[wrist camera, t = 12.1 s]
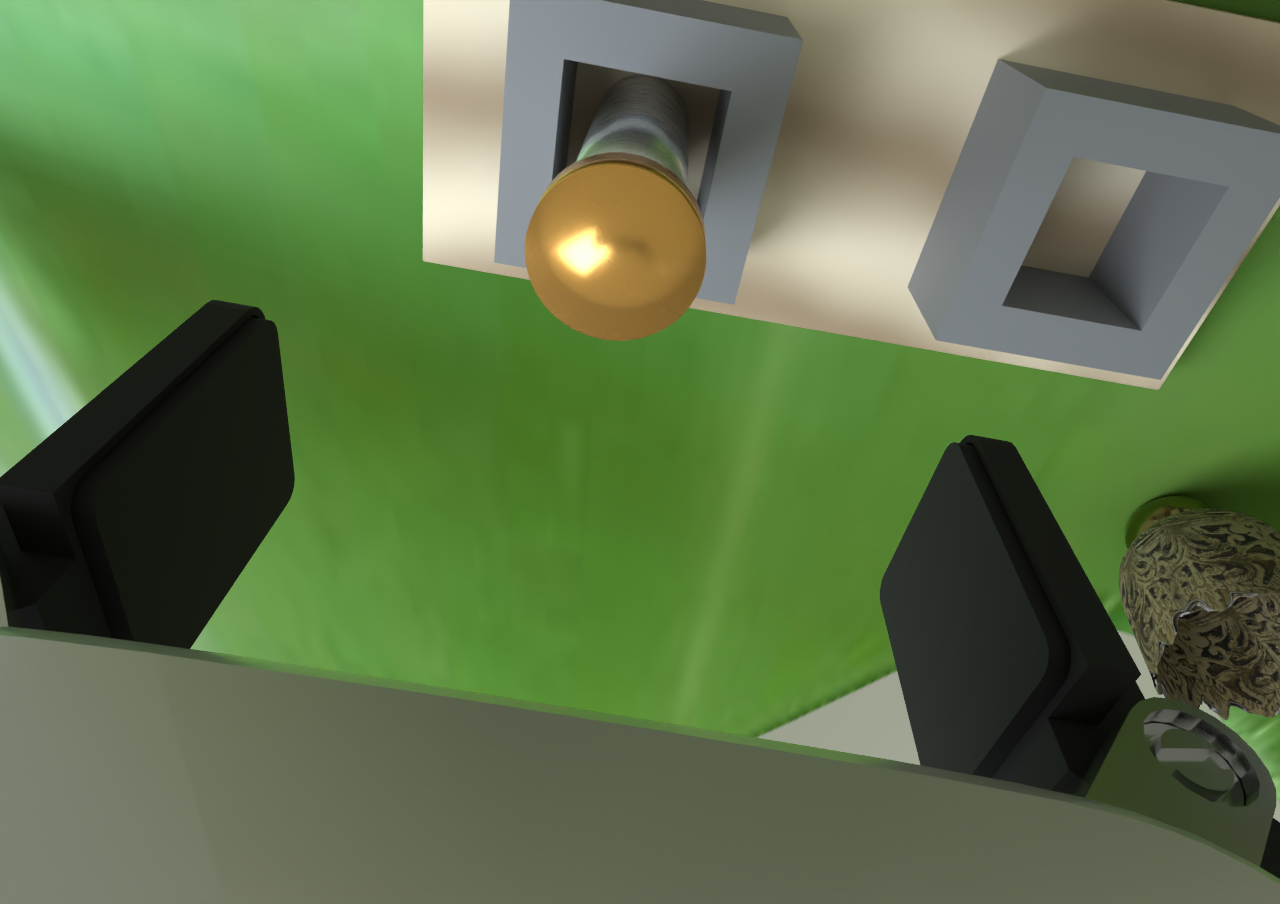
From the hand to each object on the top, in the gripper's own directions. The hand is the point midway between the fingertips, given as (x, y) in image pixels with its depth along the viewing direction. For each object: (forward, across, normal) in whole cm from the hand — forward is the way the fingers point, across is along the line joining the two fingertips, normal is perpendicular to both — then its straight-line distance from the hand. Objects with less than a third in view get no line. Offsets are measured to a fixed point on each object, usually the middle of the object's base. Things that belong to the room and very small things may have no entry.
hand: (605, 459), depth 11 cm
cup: (+20, -25, +13) cm, 35 cm away
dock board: (+19, -6, 0) cm, 20 cm away
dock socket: (+18, +1, 0) cm, 18 cm away
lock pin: (+18, +1, 0) cm, 18 cm away
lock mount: (+18, -13, 0) cm, 22 cm away
